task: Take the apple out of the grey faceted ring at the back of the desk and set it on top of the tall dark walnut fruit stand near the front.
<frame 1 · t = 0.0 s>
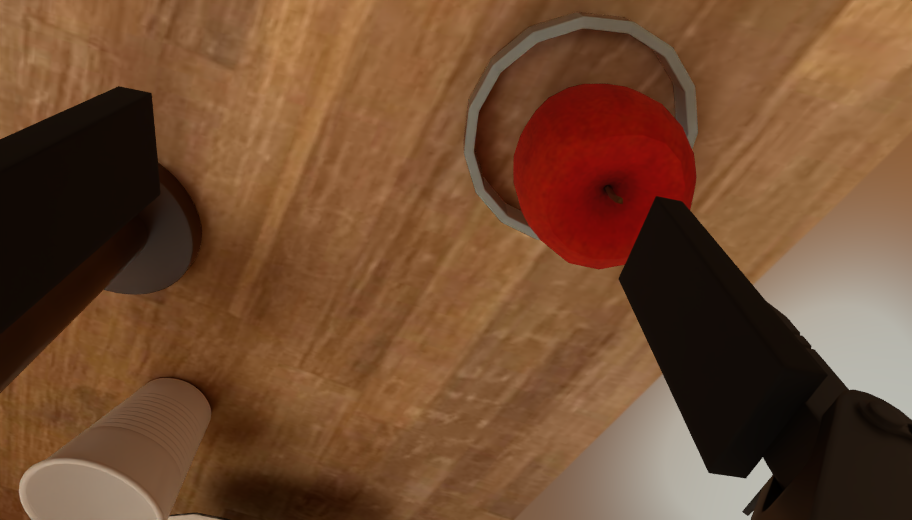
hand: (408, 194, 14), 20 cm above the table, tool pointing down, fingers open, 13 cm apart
cup: (179, 401, 46), on the table
apple: (572, 131, 33), resting in grey faceted ring
grey faceted ring: (573, 132, 33), on the table
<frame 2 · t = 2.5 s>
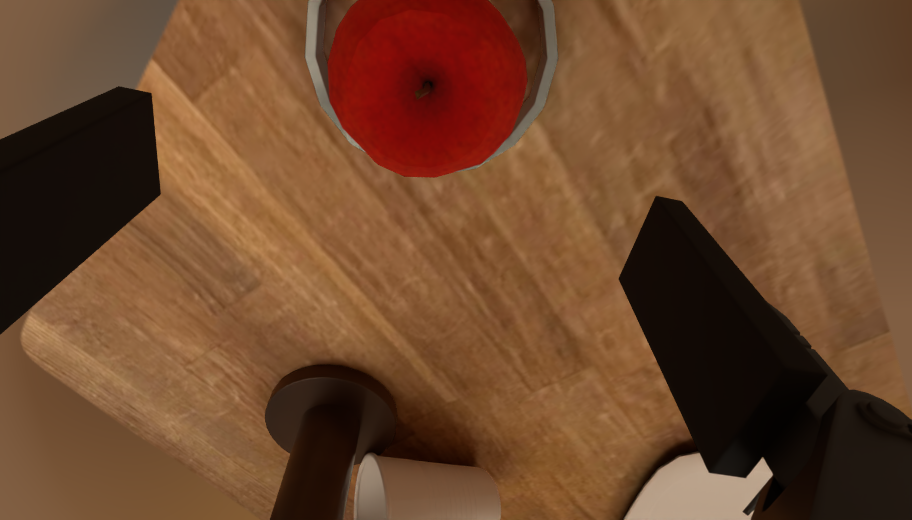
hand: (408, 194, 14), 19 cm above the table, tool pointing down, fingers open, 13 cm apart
cup: (488, 503, 48), point 3 cm above the table, touching holder
apple: (433, 50, 31), resting in grey faceted ring
plate: (712, 500, 53), on the table
grey faceted ring: (432, 50, 30), on the table
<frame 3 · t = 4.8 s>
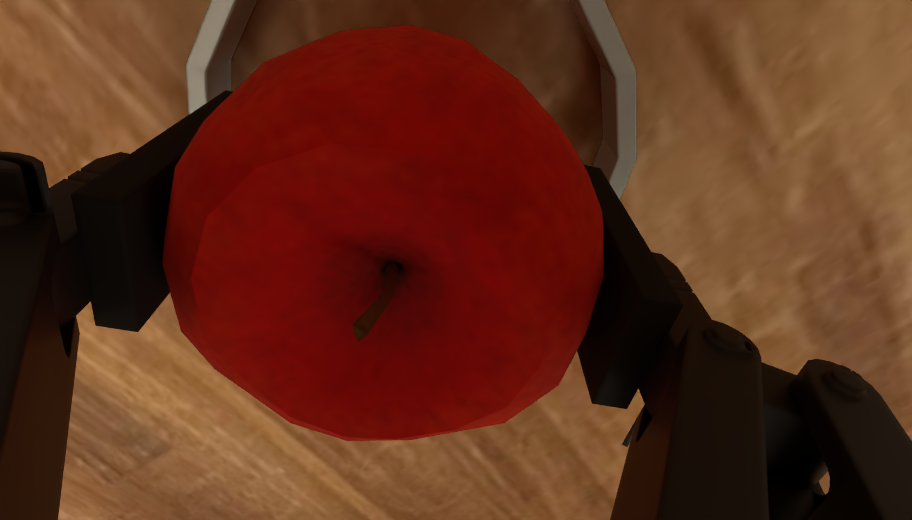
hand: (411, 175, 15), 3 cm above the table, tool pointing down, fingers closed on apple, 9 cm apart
apple: (418, 134, 18), resting in grey faceted ring, touching gripper
grey faceted ring: (417, 135, 18), on the table
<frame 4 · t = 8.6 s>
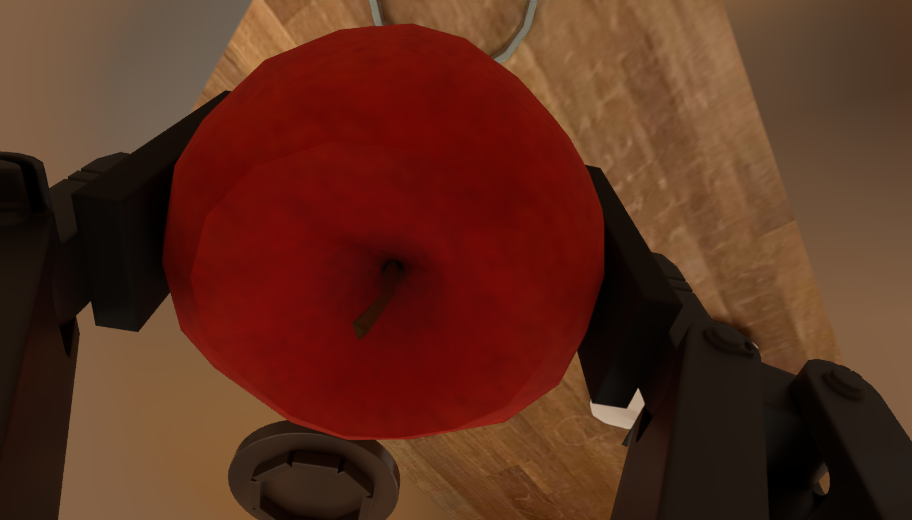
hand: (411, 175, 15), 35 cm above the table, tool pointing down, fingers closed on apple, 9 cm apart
apple: (418, 133, 18), point 31 cm above the table, touching gripper
plate: (666, 373, 66), on the table
holder: (314, 490, 37), on the table
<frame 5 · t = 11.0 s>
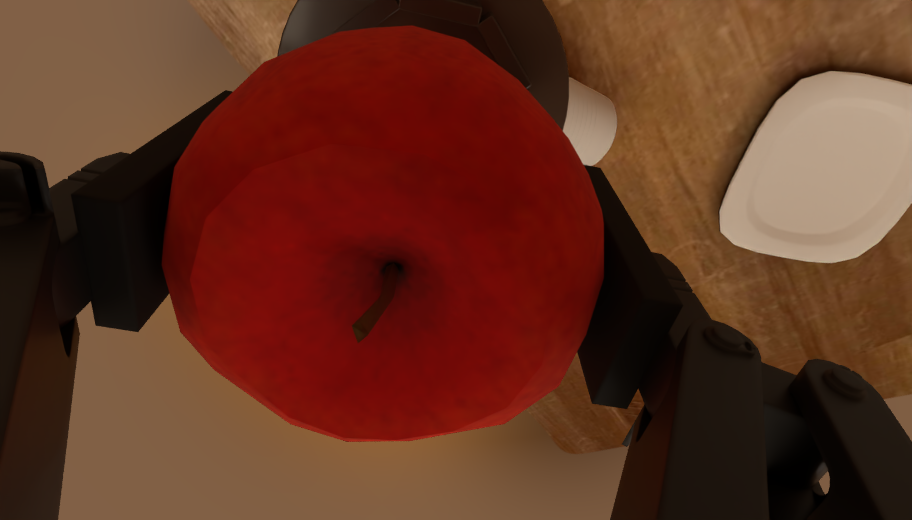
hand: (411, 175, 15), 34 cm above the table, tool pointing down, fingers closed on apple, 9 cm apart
cup: (597, 133, 46), point 3 cm above the table, touching holder
apple: (418, 134, 18), point 30 cm above the table, touching gripper
plate: (821, 170, 51), on the table
holder: (423, 104, 22), on the table
when the fingers open (29 cm above the table, at t = 12.6 s): apple stays where it is, resting on holder.
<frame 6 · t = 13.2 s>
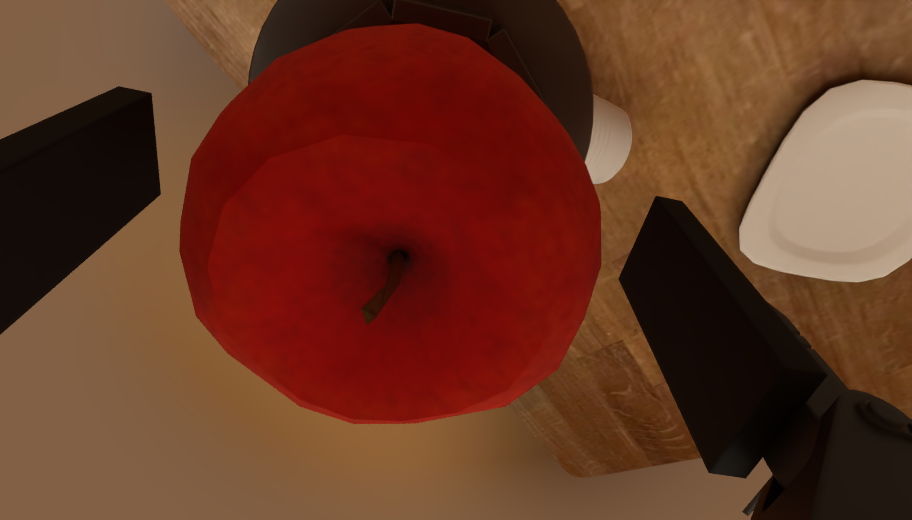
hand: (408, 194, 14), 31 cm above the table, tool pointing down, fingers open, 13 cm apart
cup: (610, 147, 43), point 3 cm above the table, touching holder
apple: (421, 130, 19), point 26 cm above the table, touching holder
plate: (848, 184, 48), on the table
holder: (421, 131, 18), on the table
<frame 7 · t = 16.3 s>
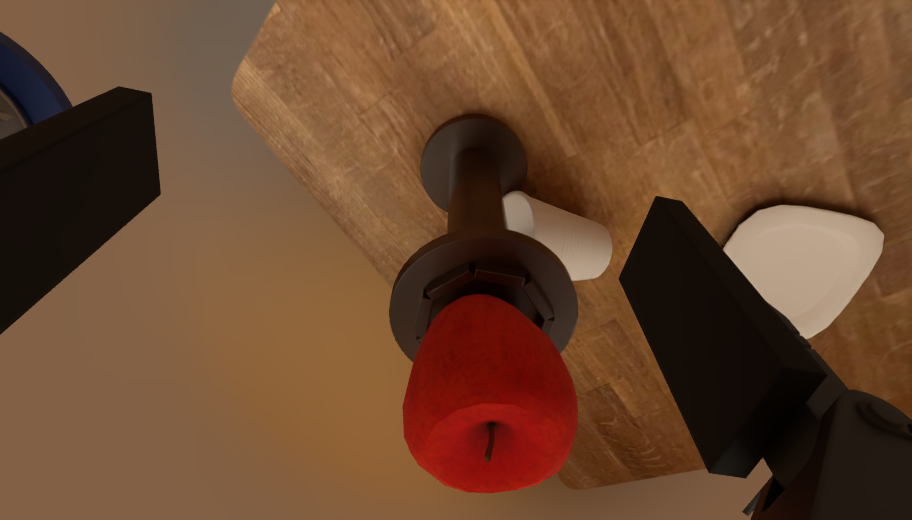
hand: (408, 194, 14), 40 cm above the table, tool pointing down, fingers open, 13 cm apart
cup: (596, 251, 58), point 3 cm above the table, touching holder
apple: (483, 316, 34), point 26 cm above the table, touching holder
plate: (778, 271, 63), on the table
holder: (483, 318, 34), on the table
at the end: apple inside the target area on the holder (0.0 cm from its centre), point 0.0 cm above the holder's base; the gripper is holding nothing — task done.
